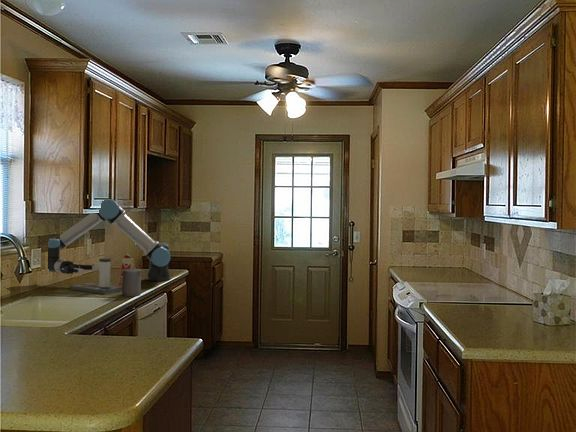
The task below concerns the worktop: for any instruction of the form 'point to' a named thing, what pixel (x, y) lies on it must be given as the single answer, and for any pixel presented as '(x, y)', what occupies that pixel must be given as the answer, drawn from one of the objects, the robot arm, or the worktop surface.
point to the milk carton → (126, 267)
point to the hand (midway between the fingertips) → (92, 270)
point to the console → (95, 288)
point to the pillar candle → (131, 282)
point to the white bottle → (104, 272)
